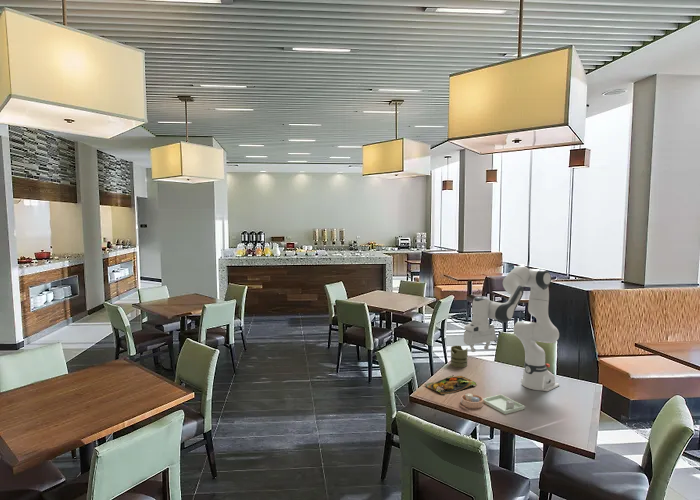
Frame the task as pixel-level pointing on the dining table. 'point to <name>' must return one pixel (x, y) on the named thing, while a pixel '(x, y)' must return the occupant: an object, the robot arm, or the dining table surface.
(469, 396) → the pebble sand
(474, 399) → the pebble slate
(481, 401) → the bowl
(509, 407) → the pebble grey
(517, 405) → the parts tray
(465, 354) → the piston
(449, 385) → the prepared meal
